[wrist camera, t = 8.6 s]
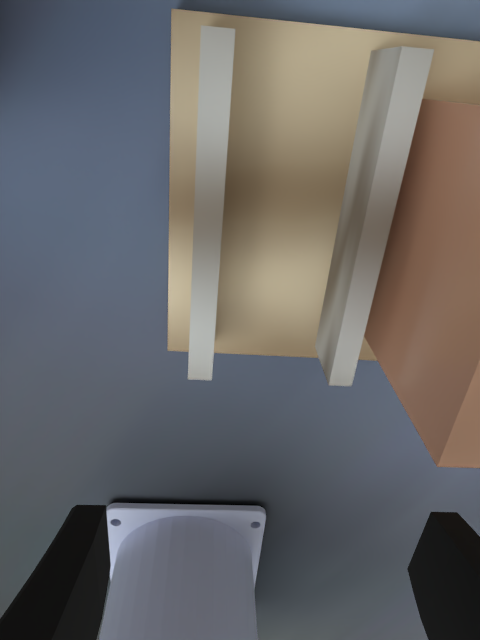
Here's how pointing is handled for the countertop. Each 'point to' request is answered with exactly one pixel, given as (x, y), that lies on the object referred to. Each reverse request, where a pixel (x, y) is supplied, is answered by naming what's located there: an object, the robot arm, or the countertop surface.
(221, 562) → the robot arm
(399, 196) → the upright peach slab
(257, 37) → the dish rack
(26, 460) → the countertop surface
